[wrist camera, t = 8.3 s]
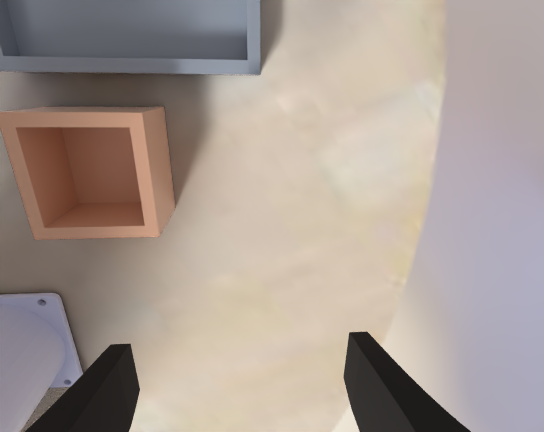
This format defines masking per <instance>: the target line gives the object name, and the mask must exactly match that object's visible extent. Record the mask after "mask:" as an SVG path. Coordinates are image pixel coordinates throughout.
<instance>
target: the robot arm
mask: <svg viewBox="0 0 544 432" xmlns="http://www.w3.org/2000/svg"><path fill="white" fill-rule="evenodd" d="M41 299H42V300H44V301H46V302H43V301H42V300H41ZM344 381H345V385H346V389H347V393H348V397H349V401H350V405H351V408H352V411H353V414H354V417H355V420H356V422H357V425H358V428H359V431H360V432H471V431H470V430H468V429H467V428H466V427H465V426H463V425H462V424H461V423H460V422H458V421H457V420H456V419H455V418H454V417H453V416H451V415H450V414H449V413H448V412H447V411H446V410H444V408H442V407H441V406H440V405H439V404H438V403H437V402H436V401H435V400H434V399H433V398H432V397H431V396H429V395H428V394H427V393H426V392H425V391H424V390H423V389H422V388H421V387H420V386H419V385H418V384H417V383H416V382H415V381H414V380H413V379H412V378H411V377H410V376H409V375H408V374H407V373H406V372H405V371H404V370H403V369H402V368H401V367H400V366H399V365H398V364H397V363H396V362H395V361H394V360H393V359H392V358H391V357H390V355H389V354H388V353H387V352H386V351H385V350H384V349H383V348H382V347H381V346H380V345H379V344H378V343H377V342H376V341H375V339H374V338H373V337H372V336H371V335H370V334H369V333H368V332H350V333H349V339H348V347H347V355H346V363H345V370H344ZM56 387H70V388H69V389H68V390H67V391H66V392H65V393H64V394H63V395H62V396H61V397H60V398H59V399H58V400H57V401H56V402H55V403H54V404H53V405H52V406H51V407H50V408H49V409H48V410H47V411H46V412H45V413H44V414H43V415H42V416H41V417H40V418H39V419H38V420H37V421H36V422H35V423H34V424H33V425H32V426H30V427H29V428H28V429H27V430H26V431H25V432H129V430H130V427H131V424H132V420H133V416H134V412H135V408H136V404H137V400H138V396H139V391H140V388H139V383H138V378H137V373H136V368H135V363H134V359H133V354H132V349H131V344H114V345H110V346H109V347H108V348H107V349H106V350H105V351H104V352H103V353H102V354H101V355H100V356H99V357H98V358H97V360H96V361H95V362H94V363H93V364H92V365H91V366H90V367H89V368H88V369H87V370H86V371H85V372H84V373H83V372H82V368H81V365H80V361H79V358H78V355H77V351H76V348H75V344H74V341H73V337H72V334H71V331H70V327H69V324H68V320H67V317H66V314H65V310H64V307H63V303H62V300H61V298H60V296H59V295H58V294H55V293H30V294H4V295H0V432H21V430H22V429H23V427H24V425H25V424H26V422H27V421H28V419H29V418H30V416H31V415H32V413H33V412H34V410H35V408H36V407H37V405H38V404H39V402H40V401H41V399H42V398H43V396H44V395H45V393H46V391H47V390H48V388H56Z"/></svg>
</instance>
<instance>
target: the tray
mask: <svg viewBox="0 0 544 432" xmlns="http://www.w3.org/2000/svg"><path fill="white" fill-rule="evenodd" d="M0 71H6V72H38V73H117V74H195V75H260V0H0Z"/></svg>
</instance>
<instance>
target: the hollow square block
mask: <svg viewBox="0 0 544 432" xmlns="http://www.w3.org/2000/svg"><path fill="white" fill-rule="evenodd" d="M0 129H1V132H2V136H3V139H4V142H5V145H6V149H7V152H8V155H9V158H10V162H11V165H12V168H13V172H14V175H15V178H16V181H17V185H18V188H19V191H20V194H21V198H22V201H23V204H24V207H25V211H26V214H27V217H28V221H29V224H30V227H31V230H32V234H33V237H34V240H50V239H89V238H127V237H159V236H160V234H161V233H162V231H163V229H164V227H165V225H166V224H167V222H168V220H169V218H170V217H171V215H172V213H173V211H174V210H175V208H176V207H175V199H174V190H173V181H172V172H171V163H170V154H169V146H168V137H167V128H166V119H165V110H164V107H128V106H47V107H38V108H29V109H19V110H10V111H1V112H0Z"/></svg>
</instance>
